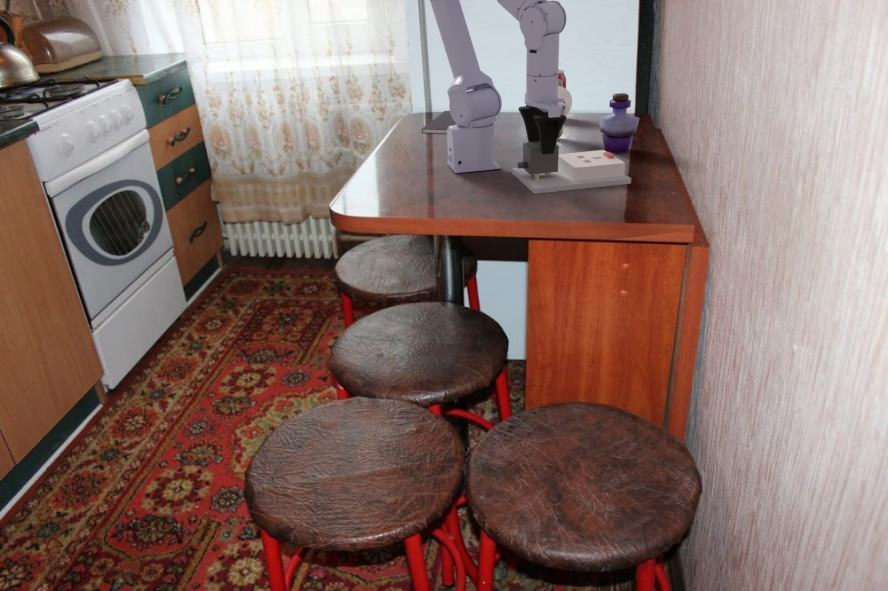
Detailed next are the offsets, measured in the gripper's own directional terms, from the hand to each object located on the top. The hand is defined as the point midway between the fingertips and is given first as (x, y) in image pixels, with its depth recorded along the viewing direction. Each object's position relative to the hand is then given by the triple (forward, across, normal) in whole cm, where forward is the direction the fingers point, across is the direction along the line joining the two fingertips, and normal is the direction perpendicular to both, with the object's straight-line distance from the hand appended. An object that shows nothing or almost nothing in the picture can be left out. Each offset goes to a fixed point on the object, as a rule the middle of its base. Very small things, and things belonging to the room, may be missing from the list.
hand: (541, 148), depth 136 cm
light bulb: (+6, +30, -14) cm, 34 cm away
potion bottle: (+7, +16, -23) cm, 29 cm away
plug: (+5, 0, 0) cm, 5 cm away
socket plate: (+5, 0, -10) cm, 11 cm away
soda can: (+6, +50, -20) cm, 54 cm away
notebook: (+7, +54, +4) cm, 55 cm away
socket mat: (+6, 0, -6) cm, 9 cm away
